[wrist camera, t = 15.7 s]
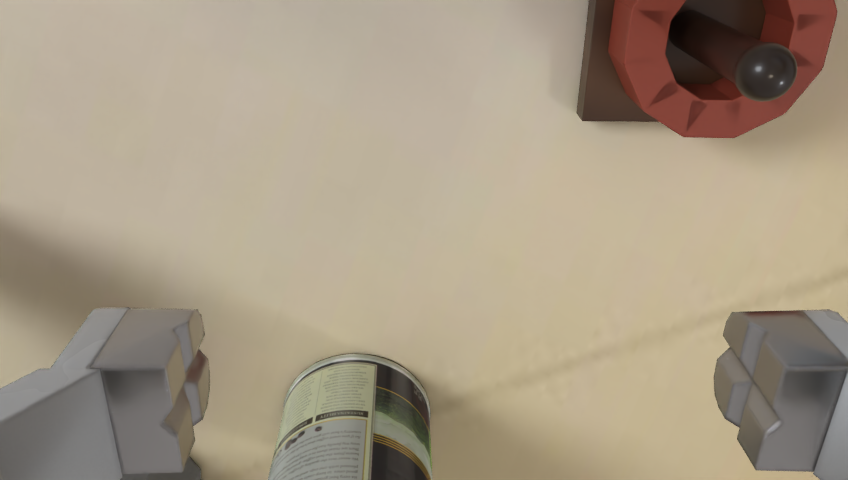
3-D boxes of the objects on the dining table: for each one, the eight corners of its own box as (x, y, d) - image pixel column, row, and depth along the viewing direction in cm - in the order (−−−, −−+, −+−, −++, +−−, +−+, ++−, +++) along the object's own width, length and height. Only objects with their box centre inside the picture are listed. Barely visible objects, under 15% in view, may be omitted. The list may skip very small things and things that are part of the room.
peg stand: (597, -78, 38) (675, -58, 27) (790, -74, 38) (942, -54, 27) (576, 113, 42) (635, 194, 31) (749, 115, 42) (865, 195, 32)
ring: (625, -80, 36) (644, -76, 33) (824, -74, 37) (860, -70, 34) (598, 117, 41) (613, 136, 38) (776, 121, 41) (804, 139, 38)
